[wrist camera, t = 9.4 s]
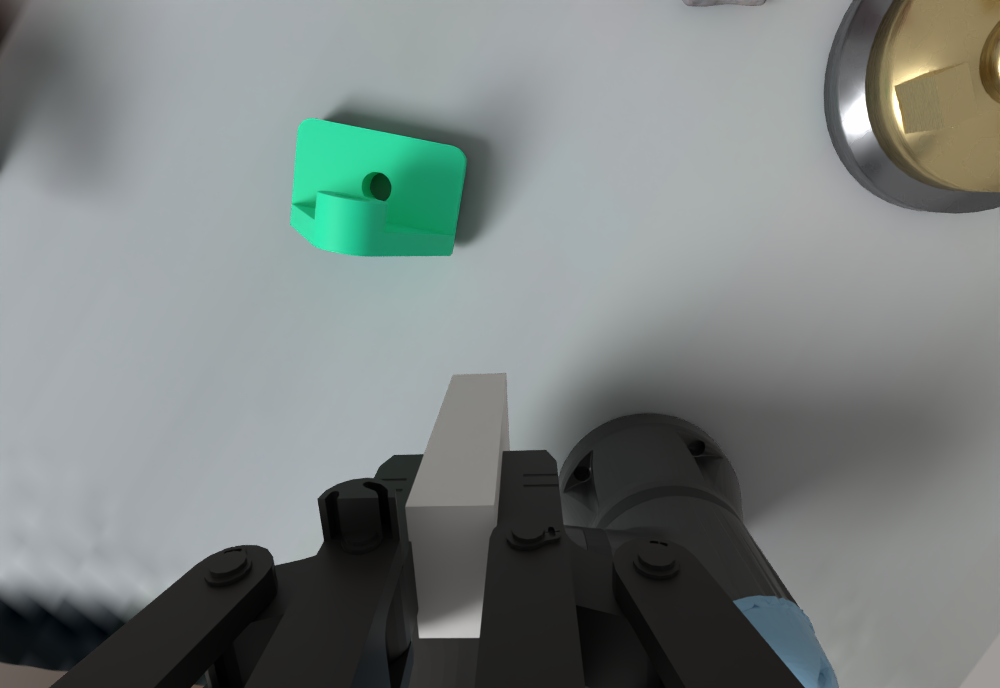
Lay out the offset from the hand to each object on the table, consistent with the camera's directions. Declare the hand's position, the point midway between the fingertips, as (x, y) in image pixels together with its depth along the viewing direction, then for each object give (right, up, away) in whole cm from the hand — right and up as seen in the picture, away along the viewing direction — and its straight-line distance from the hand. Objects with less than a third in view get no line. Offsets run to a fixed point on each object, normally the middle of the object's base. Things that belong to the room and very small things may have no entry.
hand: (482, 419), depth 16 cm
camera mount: (-8, +14, +27) cm, 32 cm away
